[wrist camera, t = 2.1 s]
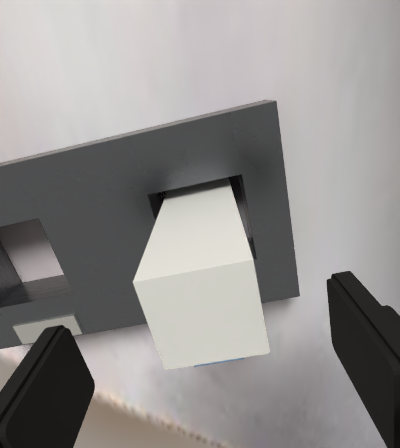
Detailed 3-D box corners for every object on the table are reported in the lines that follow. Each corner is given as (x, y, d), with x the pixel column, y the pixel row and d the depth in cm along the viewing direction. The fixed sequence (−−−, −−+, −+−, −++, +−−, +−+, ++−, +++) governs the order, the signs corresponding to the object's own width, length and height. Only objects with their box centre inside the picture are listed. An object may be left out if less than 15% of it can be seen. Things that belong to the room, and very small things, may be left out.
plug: (227, 176, 20) (253, 259, 10) (239, 238, 22) (272, 365, 11) (168, 189, 20) (132, 282, 10) (184, 249, 22) (168, 381, 12)
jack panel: (265, 100, 18) (277, 100, 15) (287, 271, 23) (300, 297, 20) (-69, 179, 20) (-116, 193, 17) (13, 322, 25) (-13, 353, 22)
